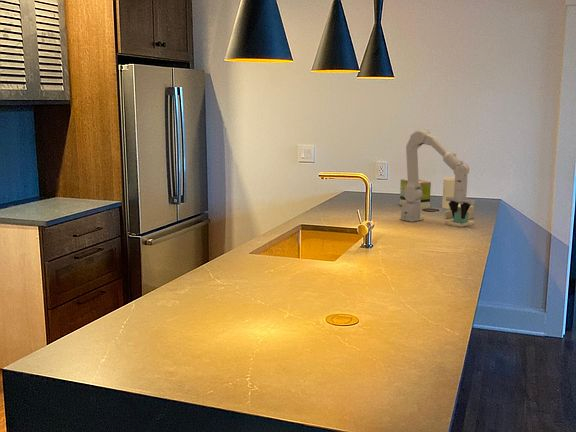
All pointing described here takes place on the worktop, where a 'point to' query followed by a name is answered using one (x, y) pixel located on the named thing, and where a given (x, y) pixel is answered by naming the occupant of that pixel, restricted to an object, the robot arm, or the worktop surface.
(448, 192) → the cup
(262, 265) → the worktop surface
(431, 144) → the robot arm
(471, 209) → the bay
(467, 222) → the tray
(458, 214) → the tall grey-green carton
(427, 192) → the tea box
